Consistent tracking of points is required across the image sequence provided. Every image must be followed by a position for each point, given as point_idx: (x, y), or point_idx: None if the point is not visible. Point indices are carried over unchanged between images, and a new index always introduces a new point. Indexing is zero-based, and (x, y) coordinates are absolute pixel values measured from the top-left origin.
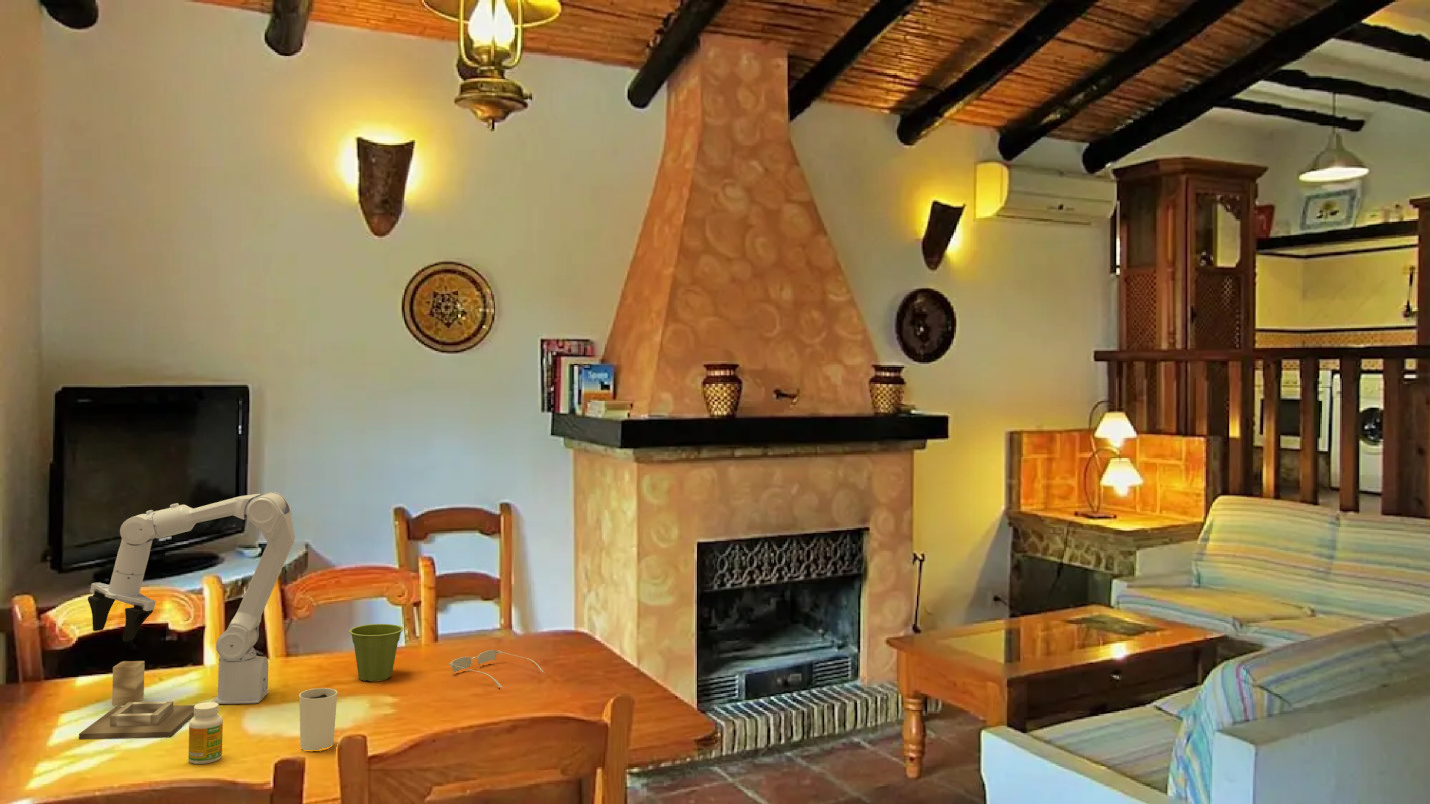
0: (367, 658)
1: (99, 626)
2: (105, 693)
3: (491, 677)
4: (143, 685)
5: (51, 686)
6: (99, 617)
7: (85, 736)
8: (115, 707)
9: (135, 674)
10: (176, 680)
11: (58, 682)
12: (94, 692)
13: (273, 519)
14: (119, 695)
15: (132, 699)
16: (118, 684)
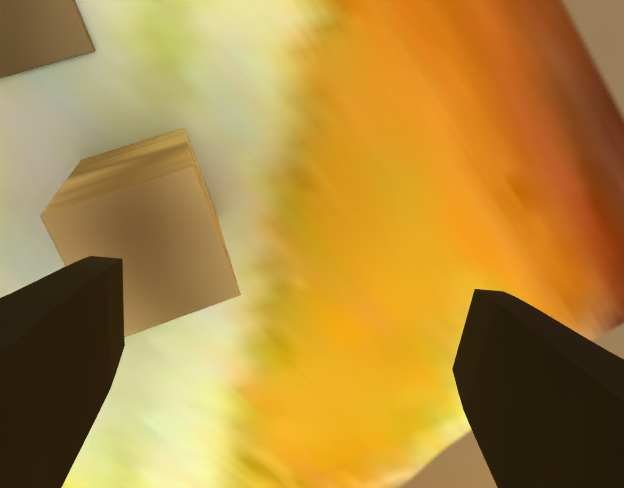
0: None
1: (479, 348)
2: (337, 265)
3: None
4: None
5: (571, 274)
6: (539, 400)
7: None
8: (80, 35)
9: (54, 201)
10: (185, 476)
11: (572, 316)
12: (386, 263)
13: None
14: (152, 147)
15: (90, 162)
16: (157, 155)
